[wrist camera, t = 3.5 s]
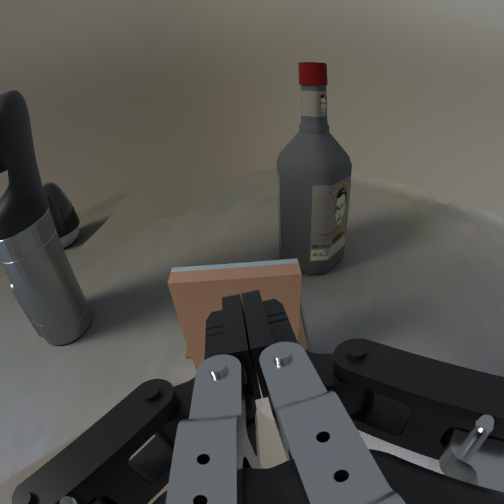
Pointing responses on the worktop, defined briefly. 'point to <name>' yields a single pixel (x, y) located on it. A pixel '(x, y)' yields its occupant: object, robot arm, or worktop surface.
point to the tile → (230, 293)
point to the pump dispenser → (62, 213)
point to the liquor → (313, 183)
